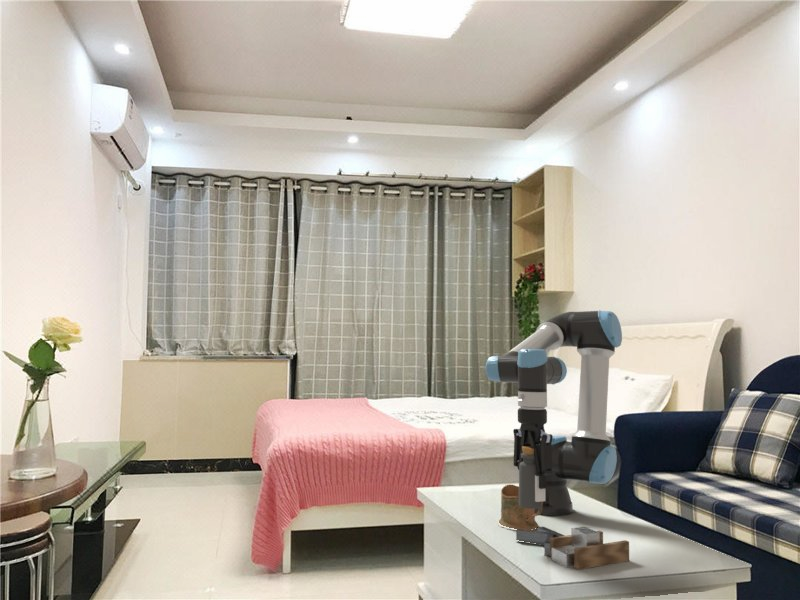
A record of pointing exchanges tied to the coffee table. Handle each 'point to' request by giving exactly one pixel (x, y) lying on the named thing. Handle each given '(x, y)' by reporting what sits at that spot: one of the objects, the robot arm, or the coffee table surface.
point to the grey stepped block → (575, 545)
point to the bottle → (527, 479)
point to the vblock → (538, 537)
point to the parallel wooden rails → (594, 552)
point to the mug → (516, 510)
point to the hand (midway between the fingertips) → (532, 498)
